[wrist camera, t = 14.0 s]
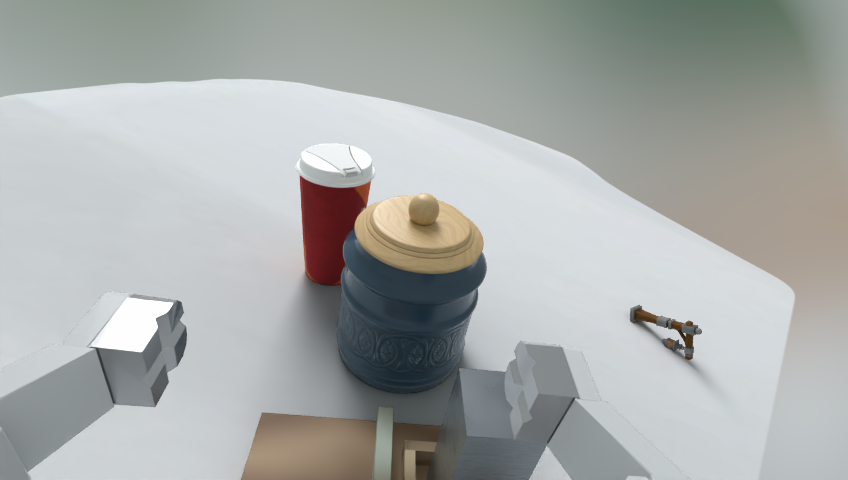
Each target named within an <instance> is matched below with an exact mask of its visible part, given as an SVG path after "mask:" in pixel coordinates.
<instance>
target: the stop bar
mask: <svg viewBox="0 0 848 480" xmlns="http://www.w3.org/2000/svg"><path fill="white" fill-rule="evenodd" d="M505 374H506V372H500V371H488V370H476V369H465V368H459V370H458V373H457V377H456V380H455V383H454V387H453V390H452V393H451V397H450V400H449V403H448V407H447V410H446V413H445V417H444V420H443V424H442V427H441V430H440V434H439V437H438V440H437V444H436V447H435V450H434V454H433V457H432V460H431V464H430V467H429V470H428V474H427V477H426V480H529V478H530V476H531V474H532V472H533V470H534V469H535V467H536V465H537V463H538V461H539V459H540V457H541V455H542V454H543V452H544V450H545V448H546V446H547V444H542V443H534V442H526V441H517V440H514V436H513V431H512V426H511V421H510V413H511V411H512V409H513V407H512V406H511V405H510V403H509V402H508V401H507V400H506V395H505V385H504V382H505Z"/></svg>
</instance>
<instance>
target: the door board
mask: <svg viewBox="0 0 848 480" xmlns="http://www.w3.org/2000/svg"><path fill="white" fill-rule="evenodd" d="M441 427H442V426H432V425H419V424H405V423H393V408H391V407H379V409H378V415H377V421H366V420H353V419H340V418H327V417H314V416H301V415H288V414H275V413H262V414H261V418H260V421H259V424H258V427H257V430H256V434H255V437H254V440H253V443H252V446H251V450H250V453H249V456H248V459H247V462H246V466H245V469H244V472H243V475H242V478H241V480H426V477H427V474H428V470H429V467H430V464H431V460H432V457H433V454H434V450H435V447H436V444H437V440H438V437H439V434H440V430H441Z"/></svg>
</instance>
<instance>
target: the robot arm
mask: <svg viewBox="0 0 848 480" xmlns="http://www.w3.org/2000/svg"><path fill="white" fill-rule="evenodd" d="M183 313H184V312H183V307H182V302H180V301H178V300H171V299H164V298H157V297H150V296H143V295H136V294H126V293H119V292H112V291H109V292H108V293H106V294H104V295H102V296H101V297H100V299H99V300H98V301H97V302H96V303H95V304H94V306H93V307H92V308H91V309H90V310H89V312H88V313H87V314H86V315H85V316H84V317H83V319H82V320H81V321H80V322H79V323H78V324H77V326H76V327H75V328H74V329H73V330H72V331H71V333H70V334H69V335H68V336H67V337H66V338H65V340H64V341H63V342H62V343H61V344H52V345H49V346H47V347H45V348H43V349H41V350H39V351H37V352H35V353H33V354H31V355H29V356H27V357H25V358H23V359H20V360H18V361H16V362H14V363H12V364H10V365H8V366H6V367H4V368H2V369H0V480H32V479H31V477H30V475H29V474H28V471H29V470H31V469H32V468H33V467H35V466H36V465H37V464H39V463H40V462H41V461H43V460H44V459H45V458H47V457H48V456H49V455H51V454H52V453H53V452H55V451H56V450H57V449H59V448H60V447H61V446H63V445H64V444H65V443H67V442H68V441H69V440H71V439H72V438H73V437H75V436H76V435H77V434H79V433H80V432H81V431H82V430H84V429H85V428H86V427H88V426H89V425H90V424H92V423H93V422H94V421H96V420H97V419H98V418H100V417H101V416H102V415H104V414H105V413H106V412H108V411H109V410H110V409H112V408H113V407H114V404H115V405H130V406H145V407H156V405H157V403H158V401H159V399H160V397H161V396H162V394H163V392H164V390H165V388H166V386H167V385H168V383H169V381H168V375H167V372H169V371H171V370H172V369H174V368H175V367H177V366H178V364H179V362H180V360H181V358H182V356H183V353H184V350H185V346H186V341H187V331H186V326H185V325H184V324H183V323H182V322H181V321H180V318H181V317H182V315H183ZM515 356H516V359H515V360H513V361H511V362H510V363H509V365H508V367H507V370H506V374H505V382H504V385H505V395H506V400H507V401H508V402H509V403H510V405H511V406H512V407H513V409H512V411H511V413H510V421H511V426H512V431H513V436H514V440H517V441H526V442H534V443H542V444H548V445H547V446H548V448H549V449H550V450H551V452H552V453H553V454H554V456H555V457H556V459H557V460H558V461H559V463H560V464H561V465H562V467H563V468H564V469H565V471H566V472H567V473H568V475H569V476H570V478H571V479H572V480H691V479H690V478H689V477H688V476H687V475H686V474H684V473H683V472H682V471H681V470H680V469H679V468H678V467H677V466H676V465H675V464H674V463H673V462H672V461H671V460H669V459H668V458H667V457H666V456H665V455H664V454H663V453H662V452H661V451H660V450H659V449H658V448H657V447H656V446H654V445H653V444H652V443H651V442H650V441H649V440H648V439H647V438H646V437H645V436H644V435H643V434H642V433H641V432H639V431H638V430H637V429H636V428H635V427H634V426H633V425H632V424H631V423H630V422H629V421H628V420H627V419H625V418H624V417H623V416H622V415H621V414H620V413H619V412H618V411H617V410H616V409H615V408H614V407H613V406H612V405H610V404H609V403H608V402H604V401H602V400H601V397H600V395H599V392H598V390H597V387H596V385H595V383H594V380H593V378H592V375H591V373H590V370H589V368H588V365H587V363H586V360H585V358H584V355H583V353H582V351H581V349H580V348H579V347H573V346H564V345H555V344H546V343H536V342H527V341H520V342H519V343H518V344H517V346H516V349H515Z"/></svg>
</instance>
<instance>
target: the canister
mask: <svg viewBox="0 0 848 480" xmlns="http://www.w3.org/2000/svg"><path fill="white" fill-rule="evenodd" d="M482 250H483V237H482V235H481V232H480V231H479V229H478V228H477V226H476V225H475V224H474V223H473V222H472V221H471V220H469V219H468V218H467V217H466V216H464V215H463V214H462V213H461V212H460V211H458V210H457V209H456V208H454V207H452V206H451V205H449V204H446V203H444V202H442V201H439V200H436V198H435V197H433V196H432V195H430V194H425V193H423V194H418V195H416V196H398V197H393V198H390V199H387V200H385V201H381V202H378V203H375V204H373V205H371V206H369V207H367V208H366V209H364V210H363V211H362V212H361V213H360V214H359V215H358V217H357V219H356V222H355V228H354V229H353V230H352V231H351V232H350V233H349V234H348V236H347V237H346V239H345V241H344V244H343V257H344V261H345V263H346V264H345V266H344V268H343V270H342V274H341V287H342V293H341V306H340V315H339V318H338V322H337V342H338V346H339V351H340V354H341V357H342V359H343V361H344V363H345V364H346V366H347V367H348V368H349V370H350V371H351V372H352V373H353V374H354V375H355V376H357V377H358V378H359V379H361V380H362V381H364V382H365V383H367V384H369V385H371V386H373V387H376V388H379V389H382V390H385V391H390V392H397V393H412V392H419V391H423V390H427V389H429V388H432V387H434V386H436V385H438V384H439V383H441V382H442V381H444V380H445V379H446V378H447V377H448V376H449V375H450V374H451V372H452V371H453V369H454V367H455V366H456V365H457V363H458V362H459V360H460V358H461V355H462V352H463V349H464V345H465V335H466V332H467V328H468V325H469V322H470V318H471V315H472V312H473V311H474V309H475V307H476V305H477V301H478V287H479V286H480V285H481V283H482V282H483V280H484V278H485V275H486V270H487V265H486V260H485V257H484V254H483V252H482Z"/></svg>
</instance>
